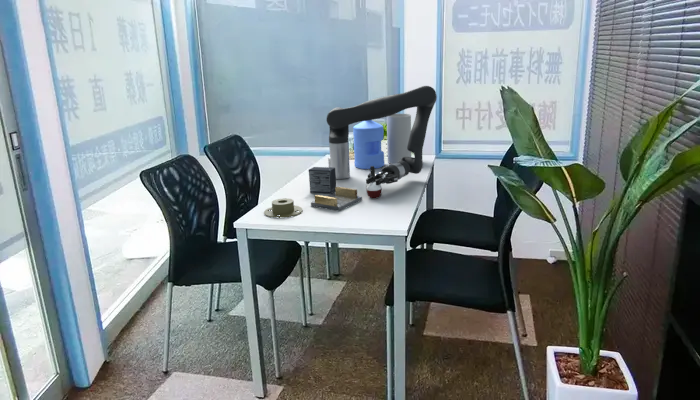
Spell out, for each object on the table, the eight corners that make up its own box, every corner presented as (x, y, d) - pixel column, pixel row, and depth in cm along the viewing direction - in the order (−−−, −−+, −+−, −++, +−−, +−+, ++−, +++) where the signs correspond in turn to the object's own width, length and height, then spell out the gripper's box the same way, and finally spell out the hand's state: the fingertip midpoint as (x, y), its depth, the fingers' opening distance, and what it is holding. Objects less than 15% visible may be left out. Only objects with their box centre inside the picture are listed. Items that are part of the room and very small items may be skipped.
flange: (306, 196, 214) (271, 195, 217) (294, 207, 200) (257, 206, 203) (307, 207, 215) (272, 206, 219) (295, 219, 201) (258, 218, 205)
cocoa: (378, 201, 219) (376, 173, 215) (363, 200, 221) (362, 172, 217) (385, 193, 227) (384, 166, 223) (371, 192, 229) (370, 165, 225)
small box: (337, 190, 238) (336, 166, 235) (332, 194, 232) (330, 170, 229) (315, 188, 241) (313, 166, 238) (309, 192, 235) (308, 169, 232)
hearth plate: (310, 206, 216) (310, 195, 214) (334, 196, 228) (333, 185, 227) (339, 210, 208) (338, 199, 207) (361, 200, 220) (361, 189, 219)
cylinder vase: (384, 164, 282) (383, 116, 275) (391, 159, 293) (390, 113, 286) (407, 165, 277) (407, 117, 270) (414, 160, 288) (413, 113, 281)
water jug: (348, 167, 278) (346, 113, 270) (365, 161, 290) (363, 109, 282) (374, 170, 269) (372, 114, 261) (390, 164, 282) (388, 110, 274)
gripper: (378, 162, 235) (356, 171, 222) (407, 166, 227) (386, 175, 214) (379, 179, 238) (357, 189, 224) (407, 183, 230) (386, 193, 216)
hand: (371, 182), depth 219 cm, fingers closed on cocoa, 4 cm apart
